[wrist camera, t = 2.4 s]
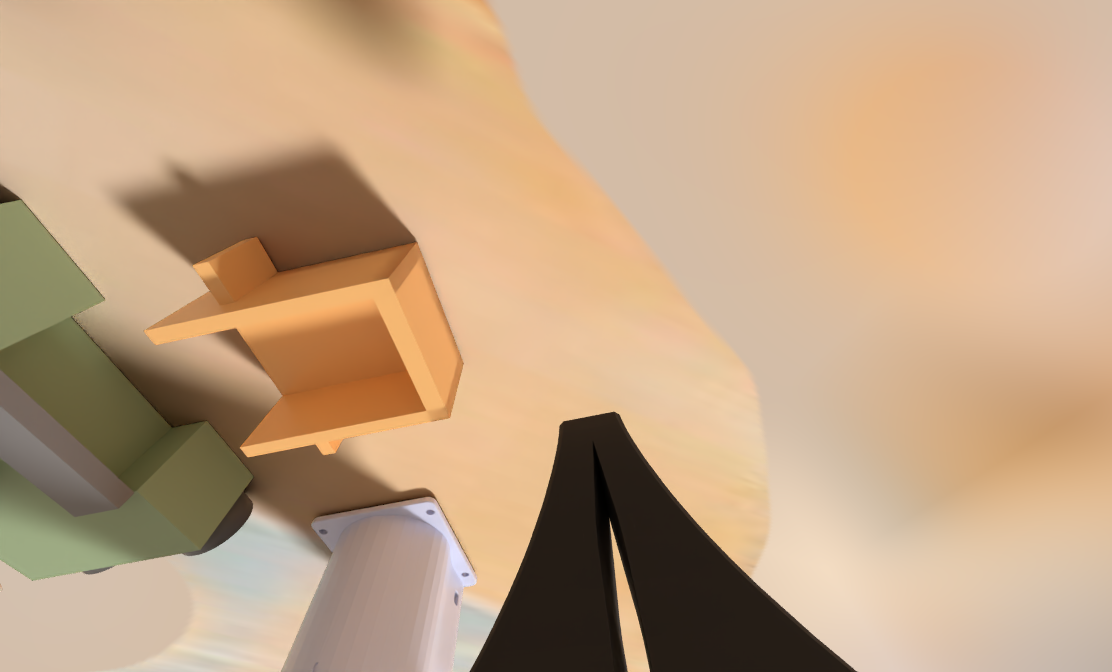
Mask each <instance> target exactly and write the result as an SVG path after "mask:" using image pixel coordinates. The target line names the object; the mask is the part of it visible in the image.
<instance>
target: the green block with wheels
mask: <svg viewBox="0 0 1112 672" xmlns="http://www.w3.org/2000/svg"><path fill="white" fill-rule="evenodd" d="M103 301H105V299H104V298H103V297H102V295H101V294H100V293H99V292H98V291H97V290H96V288H95V287H94V286H93V285H92V284H91V282H90V281H89V280H88V279H87V278H86V276H85V275H84V274H83V273H82V272H81V271H80V269H79V268H78V267H77V266H76V265H75V263H74V262H73V261H72V260H71V259H70V257H69V256H68V255H67V254H66V253H65V252H64V250H63V249H62V248H61V247H60V246H59V244H58V243H57V242H56V241H55V240H54V238H53V237H52V236H51V235H50V234H49V232H48V231H47V230H46V229H45V228H44V227H43V225H42V224H41V223H40V222H39V221H38V219H37V218H36V217H35V216H34V215H33V213H32V212H31V211H30V210H29V209H28V208H27V206H26V205H25V204H24V203H23V202H22V200H17V201H12V202H7V203H2V204H0V560H1V561H3V562H5V563H6V564H8V565H9V566H11V567H12V568H14V569H15V570H17V571H18V572H20V573H21V574H23V575H25V576H26V577H28V578H29V579H31V580H32V581H33V580H39V579H45V578H50V577H55V576H60V575H66V574H72V573H77V572H83V573H85V574H95V573H99V572H102V571H105V570H107V569H110V568H112V567H114V566H116V565H121V564H126V563H132V562H137V561H143V560H148V559H154V558H159V557H165V556H170V555H175V554H181V553H182V554H184V555H187V556H194V555H199V554H202V553H205V552H207V551H210V550H212V549H214V548H215V547H217V546H219V545H220V544H222V543H223V542H225V541H226V540H228V539H229V538H230V537H231V536H233V535H234V534H235V533H236V532H237V531H238V530H239V529H240V528H241V527H242V526H243V525H244V523H245V522H246V521H247V519H248V518H249V516H250V514H251V512H252V509H253V503H252V501H251V500H250V498H249V497H248V496H247V495H246V494H245V493H244V492H243V491H244V489H245V488H246V487H247V485H248V484H249V483H250V481H251V480H252V479H253V477H254V476H253V475H252V474H251V473H250V471H249V470H248V469H247V468H246V467H245V465H244V464H243V463H242V462H241V461H240V460H239V458H238V457H237V456H236V455H235V454H234V452H233V451H232V450H231V449H230V448H229V446H228V445H227V444H226V443H225V442H224V441H223V439H222V438H221V437H220V436H219V435H218V433H217V432H216V431H215V430H214V429H213V427H212V426H211V425H210V424H209V423H208V421H203V422H198V423H193V424H188V425H183V426H178V427H173V428H171V426H170V425H169V424H168V423H167V422H166V421H165V420H164V419H163V418H162V417H161V415H160V414H159V413H158V412H157V411H156V410H155V409H154V408H153V407H152V406H151V404H150V403H149V402H148V401H147V400H146V399H145V398H144V397H143V396H142V395H141V393H140V392H139V391H138V390H137V389H136V388H135V387H134V386H133V385H132V384H131V382H130V381H129V380H128V379H127V378H126V377H125V376H124V375H123V374H122V373H121V371H120V370H119V369H118V368H117V367H116V366H115V365H114V364H113V363H112V362H111V360H110V359H109V358H108V357H107V356H106V355H105V354H104V353H103V352H102V351H101V349H100V348H99V347H98V346H97V345H96V344H95V343H94V342H93V341H92V340H91V338H90V337H89V336H88V335H87V334H86V333H85V332H84V331H83V330H82V329H81V327H80V326H79V325H78V324H77V323H76V322H75V321H74V320H73V319H72V318H71V316H73V315H75V314H78V313H80V312H82V311H84V310H86V309H88V308H90V307H92V306H94V305H96V304H99V303H101V302H103Z"/></svg>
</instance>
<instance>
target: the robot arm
mask: <svg viewBox="0 0 1112 672" xmlns="http://www.w3.org/2000/svg"><path fill="white" fill-rule="evenodd" d="M609 518H610V520H609ZM610 522H611V525H612V529H613V532H614V536H615V539H616V543H617V546H618V550H619V553H620V557H621V560H622V564H623V567H624V571H625V574H626V578H627V581H628V585H629V588H630V592H631V595H632V599H633V602H634V606H635V609H636V613H637V616H638V620H639V624H640V628H641V632H642V636H643V640H644V645H645V649H646V654H647V659H648V664H649V669H650V672H857V671H855V670H854V669H853V668H852V667H851V666H849V665H848V664H847V663H846V662H845V661H844V660H842V659H841V658H840V657H839V656H838V655H836V654H835V653H834V652H833V651H832V650H830V649H829V648H828V647H827V646H826V645H824V644H823V643H822V642H821V641H820V640H818V639H817V638H816V637H815V636H814V635H813V634H811V633H810V632H809V631H808V630H807V629H806V628H805V627H804V626H802V625H801V624H800V623H799V622H798V621H797V620H796V619H795V618H794V617H793V616H791V615H790V614H789V613H788V612H787V611H786V610H785V609H784V608H782V607H781V606H780V605H779V604H778V603H777V602H776V601H775V600H774V599H772V598H771V597H770V596H769V595H768V594H767V593H766V592H765V591H764V590H763V589H761V588H760V587H759V586H758V585H757V584H756V583H755V582H754V581H753V580H752V579H751V578H750V577H749V576H748V575H747V574H746V573H745V572H744V571H743V570H742V569H741V568H740V567H739V566H738V565H737V564H736V563H735V562H734V561H732V560H731V559H730V558H729V557H728V555H727V554H726V553H725V552H724V551H723V550H722V549H721V548H720V547H719V546H718V545H717V544H716V543H715V542H714V541H713V540H712V539H711V538H710V537H709V536H708V535H707V534H706V532H705V531H704V530H703V529H702V528H701V527H700V526H699V525H698V524H697V523H696V521H695V520H694V519H693V518H692V517H691V516H690V515H689V513H688V512H687V511H686V510H685V509H684V508H683V506H682V505H681V504H680V503H679V502H678V501H677V499H676V498H675V497H674V496H673V495H672V493H671V492H670V491H669V490H668V488H667V487H666V486H665V485H664V483H663V482H662V481H661V479H660V478H659V477H658V475H657V474H656V473H655V471H654V470H653V469H652V467H651V466H650V465H649V463H648V462H647V461H646V459H645V458H644V456H643V455H642V453H641V452H640V450H639V449H638V447H637V446H636V444H635V443H634V441H633V440H632V438H631V436H630V435H629V433H628V431H627V429H626V428H625V426H624V424H623V422H622V420H621V417H620V415H619V414H617V413H616V412H611V413H605V414H600V415H595V416H590V417H584V418H579V419H574V420H569V421H564V422H563V423H562V424H561V425H560V429H559V438H558V445H557V451H556V456H555V460H554V465H553V469H552V473H551V477H550V480H549V484H548V488H547V491H546V495H545V498H544V502H543V505H542V508H541V511H540V514H539V517H538V520H537V523H536V526H535V529H534V531H533V534H532V537H531V540H530V543H529V545H528V548H527V551H526V553H525V556H524V558H523V561H522V563H521V566H520V568H519V571H518V573H517V575H516V578H515V580H514V582H513V585H512V587H511V589H510V592H509V594H508V596H507V598H506V600H505V602H504V605H503V607H502V609H501V611H500V613H499V615H498V617H497V619H496V621H495V624H494V626H493V628H492V630H491V632H490V634H489V636H488V638H487V640H486V642H485V644H484V646H483V648H482V650H481V652H480V654H479V656H478V657H477V659H476V661H475V663H474V665H473V667H472V668H471V670H470V672H628V671H627V665H626V659H625V654H624V648H623V642H622V635H621V627H620V620H619V610H618V600H617V590H616V580H615V570H614V560H613V550H612V540H611V530H610ZM311 526H312V528H313V530H314V531H315V532H316V533H317V534H318V536H319V537H320V538H321V539H322V541H323V542H324V543H325V544H326V546H327V547H328V548H329V549H330V551H331V552H332V555H331V558H330V560H329V562H328V565H327V567H326V569H325V571H324V574H323V576H322V578H321V581H320V583H319V585H318V588H317V590H316V592H315V594H314V597H313V599H312V601H311V604H310V606H309V608H308V611H307V613H306V615H305V618H304V620H303V622H302V624H301V627H300V629H299V631H298V634H297V636H296V638H295V641H294V643H293V645H292V647H291V650H290V652H289V654H288V657H287V659H286V661H285V664H284V666H283V668H282V670H281V672H452V669H453V662H454V655H455V647H456V640H457V632H458V625H459V618H460V610H461V603H462V595H463V588H464V587H468V586H473V585H475V584H476V582H477V576H476V574H475V572H474V570H473V568H472V566H471V565H470V563H469V561H468V559H467V557H466V555H465V553H464V551H463V550H462V548H461V546H460V544H459V542H458V540H457V538H456V536H455V535H454V533H453V531H452V529H451V527H450V525H449V523H448V522H447V520H446V518H445V516H444V514H443V512H442V510H441V508H440V507H439V505H438V503H437V501H436V500H435V499H434V498H432V497H424V498H418V499H413V500H407V501H402V502H397V503H391V504H386V505H380V506H375V507H370V508H364V509H359V510H353V511H348V512H343V513H337V514H332V515H326V516H321V517H317V518H315V519H314V520H313V522H312V524H311Z"/></svg>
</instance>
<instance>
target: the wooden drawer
mask: <svg viewBox="0 0 1112 672" xmlns="http://www.w3.org/2000/svg"><path fill="white" fill-rule="evenodd" d="M192 266H193V267H194V269H195V270H196V271H197V273H198V274H199V276H200V277H201V279H202V280H203V282H204V283H205V285H206V286H207V287H208V289H209V290H210V291H209V292H207V293H206V294H204V295H202V296H201V297H199V298H197V299H196V300H194V301H192V302H191V303H189V304H187V305H186V306H184V307H182V308H181V309H179V310H178V311H176V312H174V313H173V314H171V315H169V316H168V317H166V318H164V319H163V320H161V321H159V322H158V323H156V324H154V325H153V326H151V327H149V328H148V329H146V330H144V332H145V333H146V335H147V336H148V337H149V338H150V339H151V341H152V342H153V343H154V344H155V345H158V344H163V343H168V342H172V341H177V340H182V339H186V338H191V337H196V336H201V335H205V334H210V333H215V332H219V331H224V330H229V329H233V328H236V329H237V330H238V332H239V333H240V334H241V336H242V337H243V339H244V340H245V342H246V343H247V345H248V346H249V348H250V349H251V350H252V352H253V353H254V355H255V356H256V358H257V359H258V361H259V362H260V364H261V365H262V366H263V368H264V369H265V371H266V372H267V374H268V375H269V377H270V378H271V379H272V381H273V382H274V384H275V385H276V387H277V388H278V390H279V391H280V393H281V394H282V395H283V396H282V397H281V398H280V400H279V401H278V402H277V403H276V404H275V406H274V407H273V408H272V409H271V410H270V412H269V413H268V414H267V415H266V416H265V418H264V419H263V420H262V421H261V422H260V424H259V425H258V426H257V427H256V428H255V430H254V431H253V432H252V433H251V434H250V436H249V437H248V438H247V439H246V440H245V442H244V443H243V444H242V445H241V447H240V449H241V450H242V451H243V452H244V454H245V455H246V456H247V457H253V456H258V455H263V454H268V453H273V452H278V451H283V450H289V449H294V448H299V447H304V446H309V445H314V444H316V446H317V447H318V448H319V450H320V451H321V453H322V454H323V455H327V454H332V453H336V451H337V449H338V447H339V445H340V443H341V442H342V440H343V439H345V438H350V437H355V436H360V435H366V434H371V433H376V432H381V431H386V430H391V429H396V428H401V427H407V426H412V425H417V424H422V423H427V422H432V421H437V420H443V419H448V418H450V416H451V412H452V408H453V404H454V400H455V396H456V392H457V388H458V384H459V380H460V376H461V372H462V368H463V364H464V363H463V361H462V358H461V355H460V353H459V350H458V348H457V345H456V342H455V340H454V337H453V334H452V332H451V329H450V327H449V324H448V321H447V319H446V316H445V314H444V311H443V308H442V306H441V303H440V301H439V298H438V295H437V293H436V290H435V288H434V285H433V282H432V280H431V277H430V274H429V272H428V269H427V267H426V264H425V261H424V259H423V256H422V254H421V251H420V248H419V246H418V243H417V242H414V243H410V244H405V245H401V246H396V247H391V248H387V249H382V250H378V251H373V252H369V253H364V254H360V255H355V256H350V257H346V258H341V259H337V260H332V261H328V262H323V263H318V264H314V265H309V266H305V267H300V268H296V269H291V270H287V271H282V272H277V270H276V269H275V267H274V265H273V263H272V262H271V260H270V258H269V257H268V255H267V253H266V251H265V250H264V248H263V246H262V245H261V243H260V241H259V239H258V238H257V237H255V238H250V239H246V240H242V241H240V242H238V243H236V244H234V245H232V246H230V247H228V248H226V249H224V250H222V251H220V252H218V253H216V254H214V255H212V256H210V257H208V258H206V259H204V260H202V261H200V262H198V263H196V264H194V265H192Z"/></svg>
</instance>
